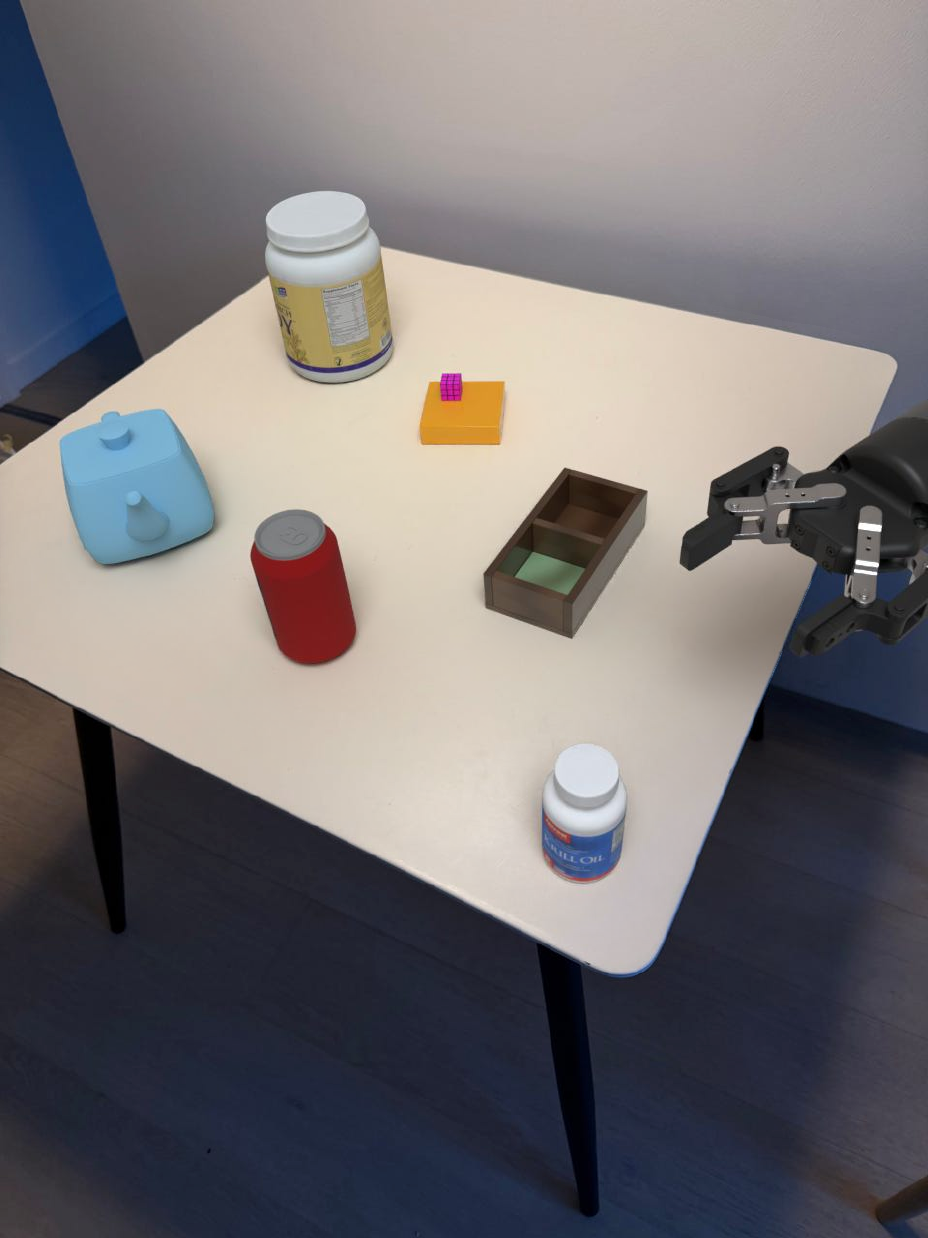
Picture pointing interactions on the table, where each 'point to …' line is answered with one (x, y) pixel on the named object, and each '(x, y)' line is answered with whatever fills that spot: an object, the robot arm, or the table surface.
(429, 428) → the flat orange square base
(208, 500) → the teapot
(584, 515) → the wooden compartment box
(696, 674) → the table surface
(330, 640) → the beverage can
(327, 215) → the supplement tub
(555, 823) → the pill bottle
